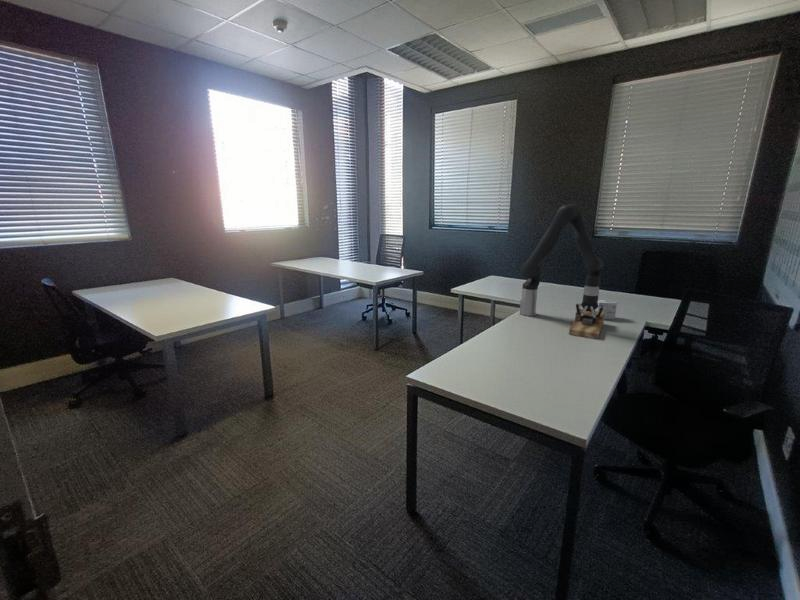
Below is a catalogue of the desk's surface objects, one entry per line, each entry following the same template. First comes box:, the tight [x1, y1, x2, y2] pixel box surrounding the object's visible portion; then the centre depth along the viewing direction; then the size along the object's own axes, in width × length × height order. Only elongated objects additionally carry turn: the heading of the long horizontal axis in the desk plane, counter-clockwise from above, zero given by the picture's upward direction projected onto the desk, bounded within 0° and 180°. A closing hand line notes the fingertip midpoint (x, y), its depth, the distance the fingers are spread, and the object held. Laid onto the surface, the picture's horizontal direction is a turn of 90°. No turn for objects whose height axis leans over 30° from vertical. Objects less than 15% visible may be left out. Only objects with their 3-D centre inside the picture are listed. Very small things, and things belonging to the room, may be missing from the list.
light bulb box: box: [595, 299, 618, 320], centre depth 226 cm, size 11×7×11 cm, turn 84°
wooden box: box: [568, 308, 605, 340], centre depth 207 cm, size 14×30×7 cm, turn 147°
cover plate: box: [582, 316, 593, 326], centre depth 210 cm, size 5×14×3 cm, turn 147°
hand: (587, 322), depth 206 cm, fingers closed on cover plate, 5 cm apart
